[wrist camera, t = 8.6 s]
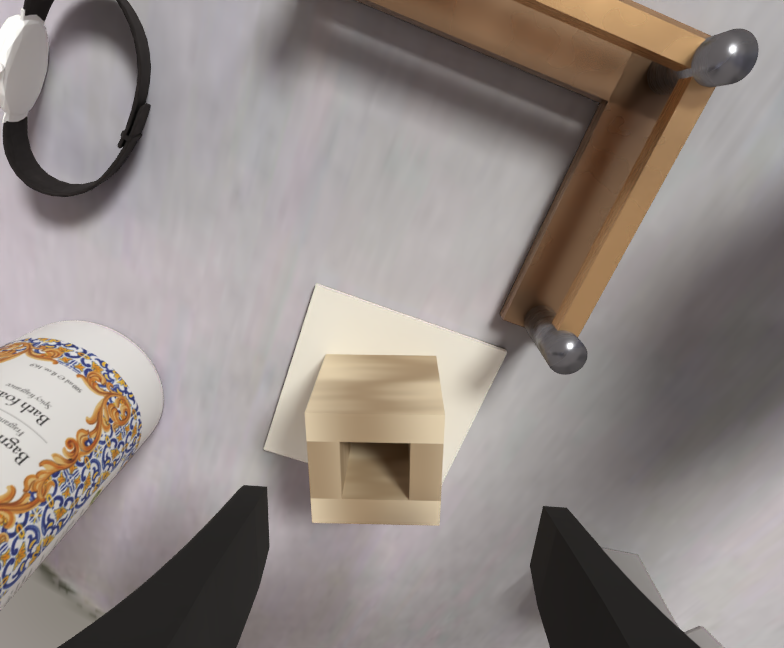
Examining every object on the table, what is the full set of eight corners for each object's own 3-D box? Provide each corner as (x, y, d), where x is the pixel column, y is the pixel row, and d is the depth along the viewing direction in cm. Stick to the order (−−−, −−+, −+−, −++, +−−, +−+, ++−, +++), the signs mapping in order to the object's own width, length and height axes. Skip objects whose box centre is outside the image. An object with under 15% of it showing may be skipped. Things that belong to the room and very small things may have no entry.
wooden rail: (714, 48, 17) (811, 20, 13) (558, 339, 22) (595, 386, 17) (332, -122, 16) (308, -213, 12) (245, 227, 20) (205, 250, 16)
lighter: (557, 564, 26) (617, 732, 19) (568, 541, 26) (634, 704, 18) (678, 587, 27) (784, 761, 19) (692, 565, 26) (806, 735, 19)
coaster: (506, 349, 22) (507, 352, 22) (432, 497, 25) (432, 502, 25) (316, 283, 21) (315, 285, 21) (264, 445, 24) (263, 449, 24)
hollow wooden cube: (436, 355, 22) (445, 415, 17) (432, 448, 23) (439, 525, 19) (325, 353, 22) (304, 412, 17) (330, 446, 24) (312, 522, 19)
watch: (58, -46, 17) (-27, -91, 14) (186, 20, 18) (134, -8, 14) (20, 161, 20) (-60, 166, 16) (133, 212, 20) (78, 227, 17)
